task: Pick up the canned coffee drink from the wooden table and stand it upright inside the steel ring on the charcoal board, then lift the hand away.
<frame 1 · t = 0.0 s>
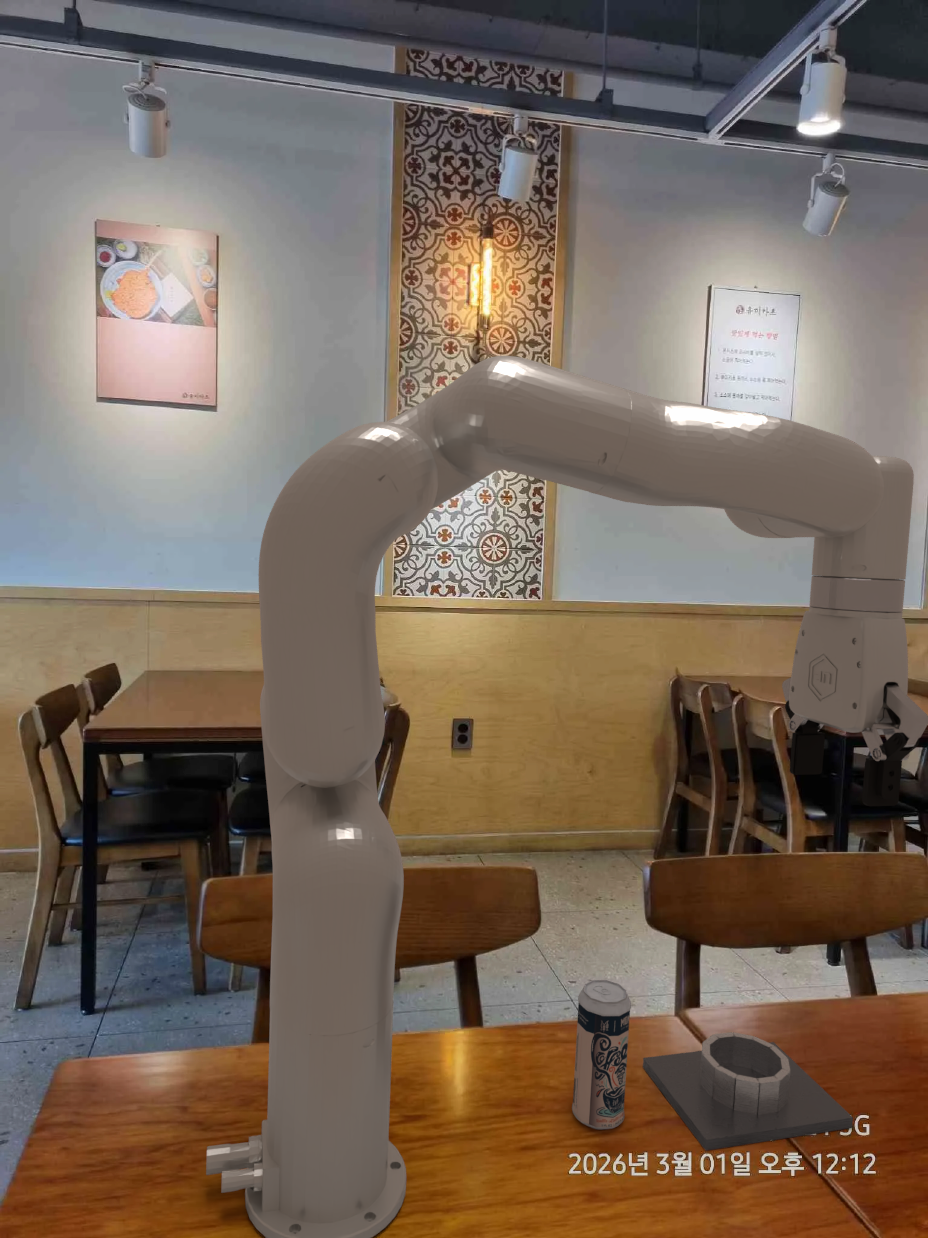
hand: (840, 788, 75), 31 cm above the table, tool pointing down, fingers open, 9 cm apart
canned coffee drink: (597, 1118, 77), on the table
can stand: (742, 1096, 81), on the table
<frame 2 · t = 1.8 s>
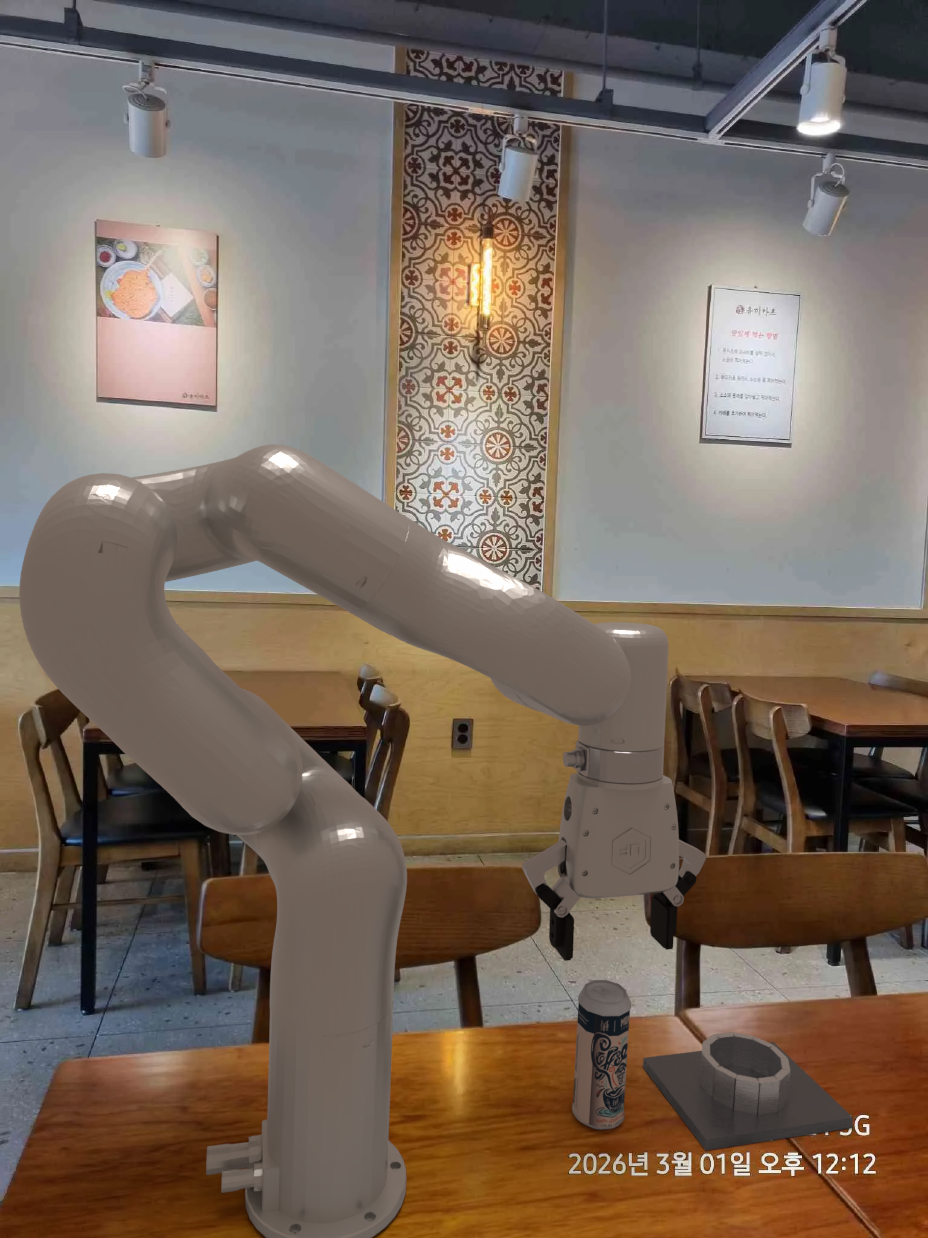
hand: (612, 948, 76), 16 cm above the table, tool pointing down, fingers open, 9 cm apart
nothing on the table moved.
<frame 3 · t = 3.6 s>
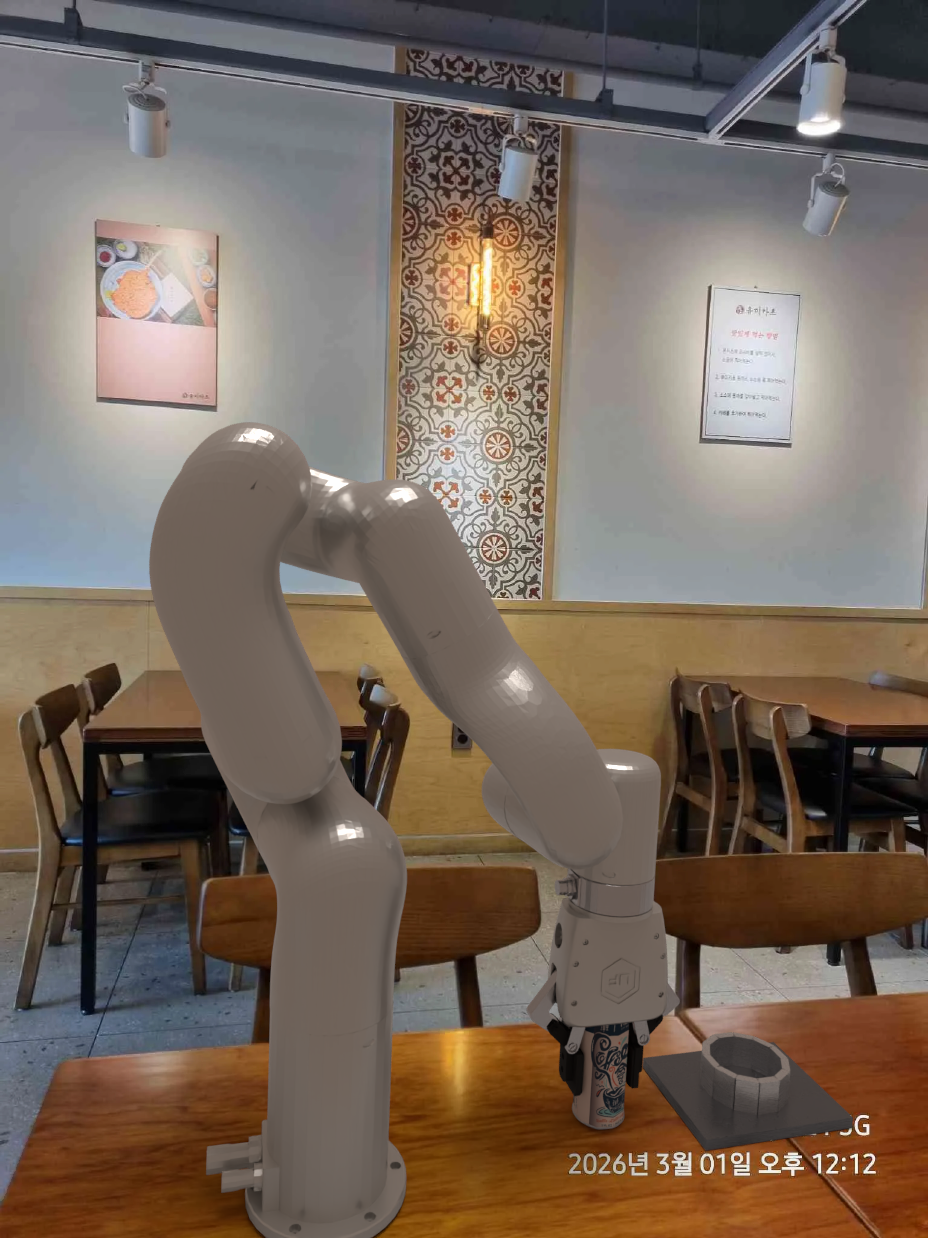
hand: (599, 1081, 76), 3 cm above the table, tool pointing down, fingers closed on canned coffee drink, 4 cm apart
canned coffee drink: (597, 1118, 77), on the table, touching gripper
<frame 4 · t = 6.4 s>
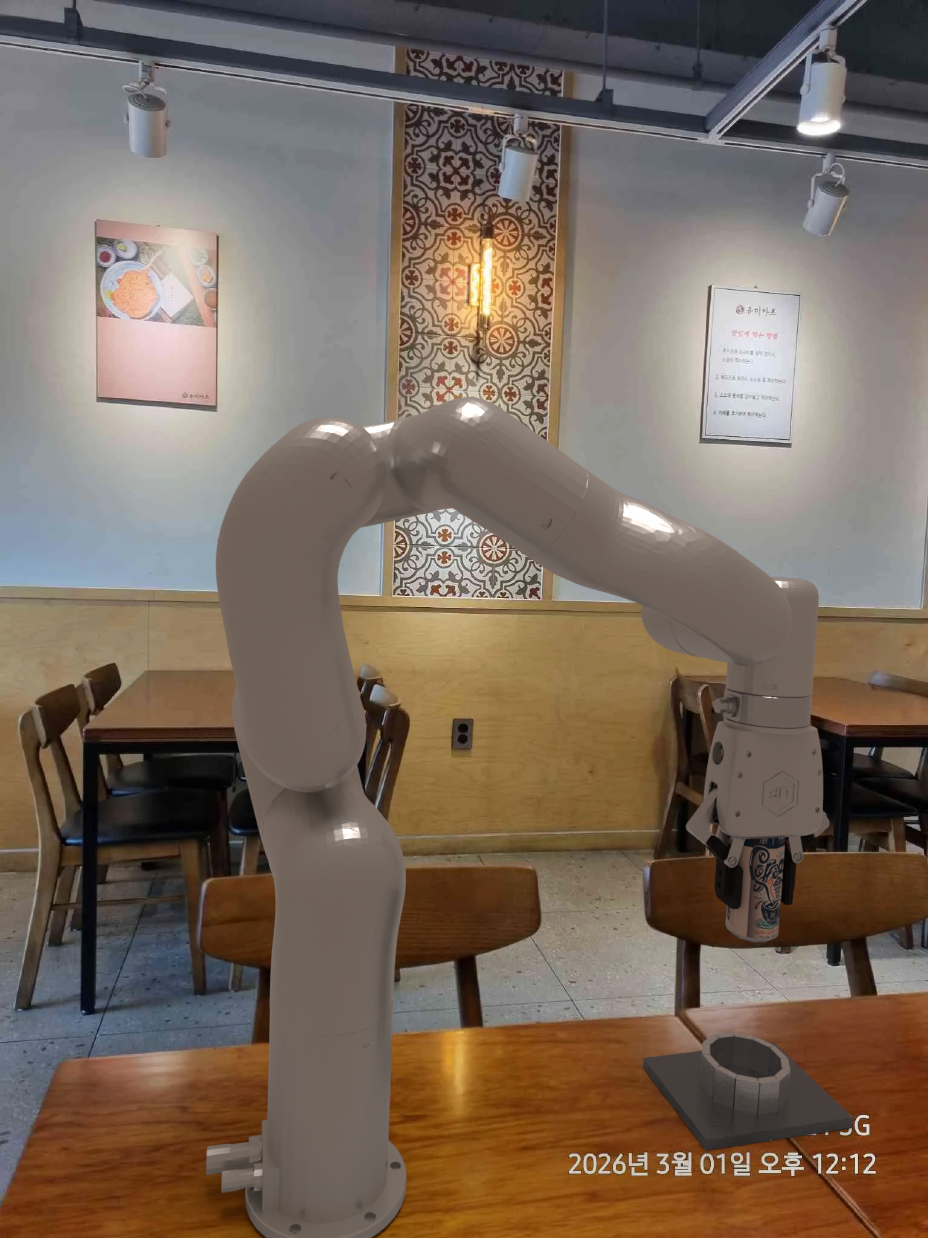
hand: (753, 899, 79), 20 cm above the table, tool pointing down, fingers closed on canned coffee drink, 4 cm apart
canned coffee drink: (751, 935, 79), point 16 cm above the table, touching gripper
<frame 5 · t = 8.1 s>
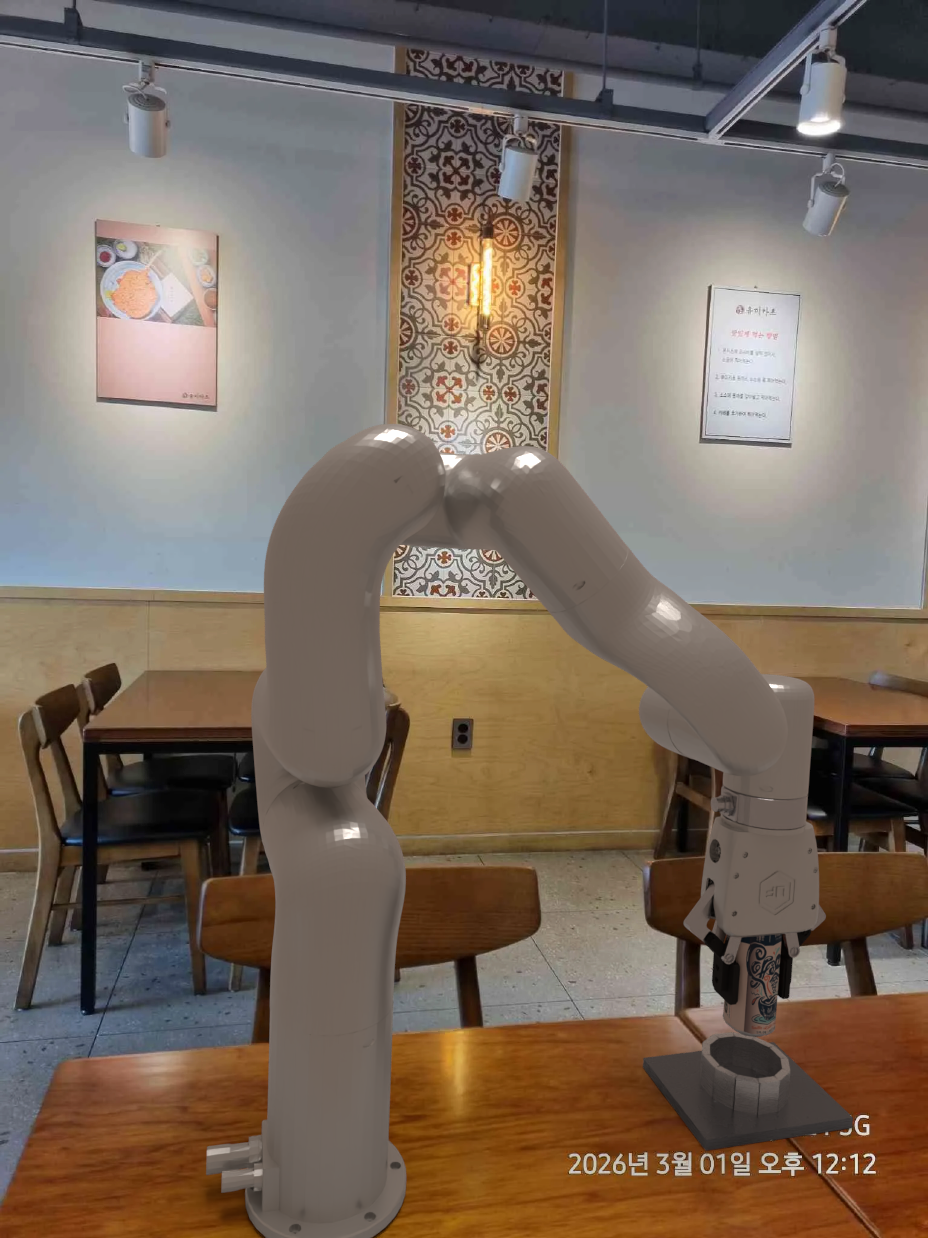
hand: (750, 992, 80), 10 cm above the table, tool pointing down, fingers closed on canned coffee drink, 4 cm apart
canned coffee drink: (748, 1028, 80), point 7 cm above the table, touching gripper
when the fingers open (6 cm above the table, at t = 9.4 s): canned coffee drink drops 1 cm, resting on can stand.
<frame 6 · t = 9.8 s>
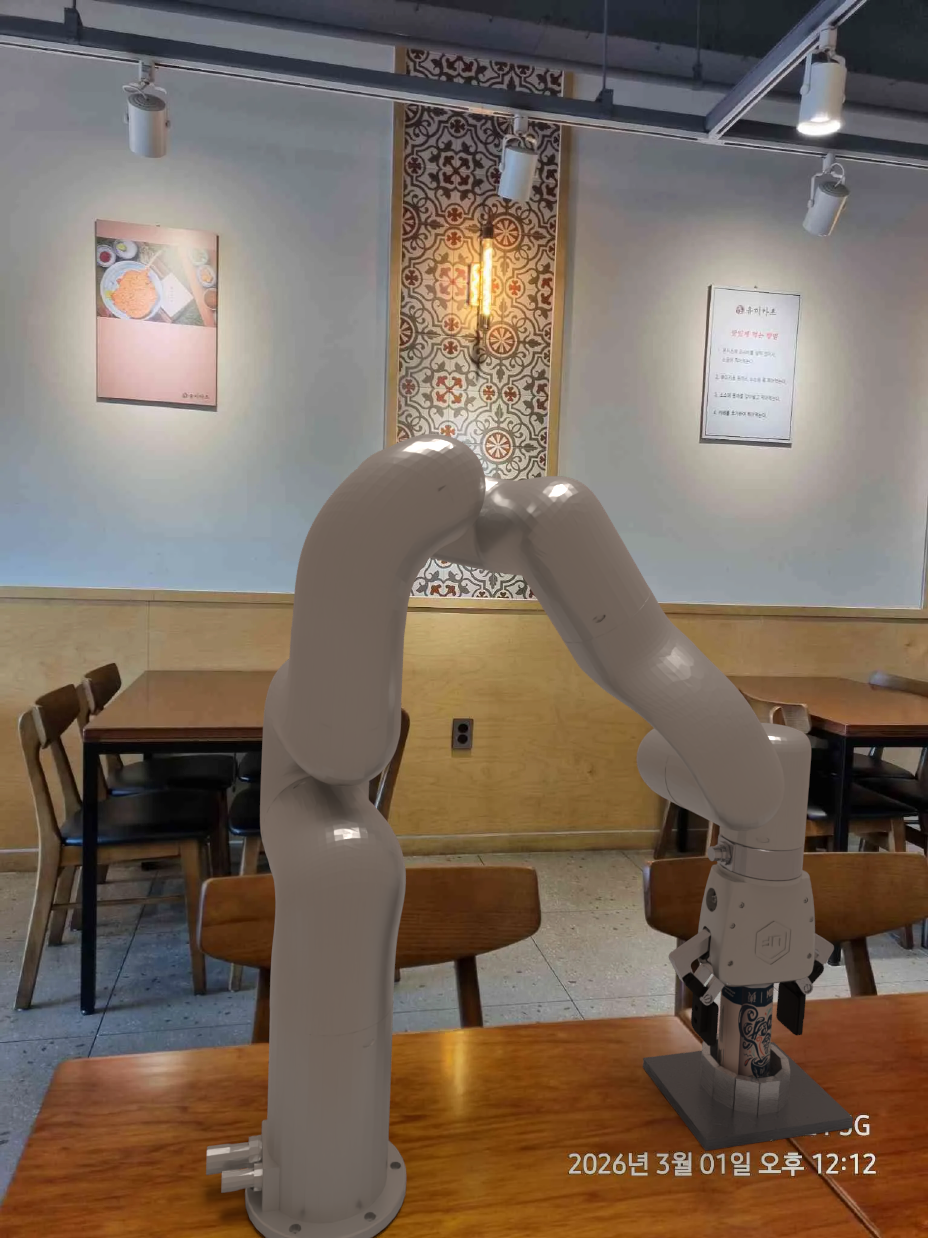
hand: (747, 1032, 80), 6 cm above the table, tool pointing down, fingers open, 8 cm apart
canned coffee drink: (741, 1088, 80), point 1 cm above the table, touching can stand
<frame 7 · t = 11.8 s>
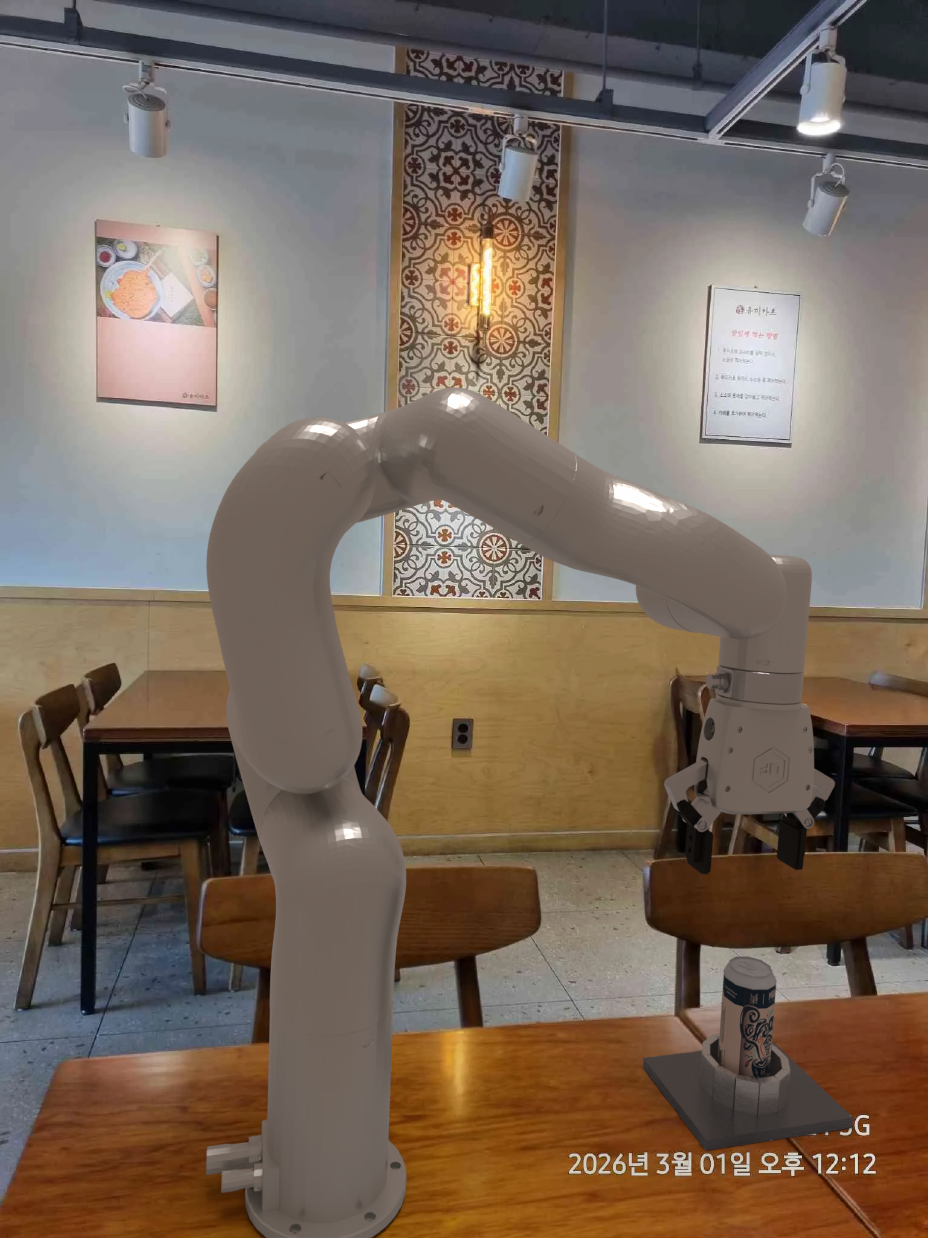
hand: (744, 866, 79), 22 cm above the table, tool pointing down, fingers open, 9 cm apart
nothing on the table moved.
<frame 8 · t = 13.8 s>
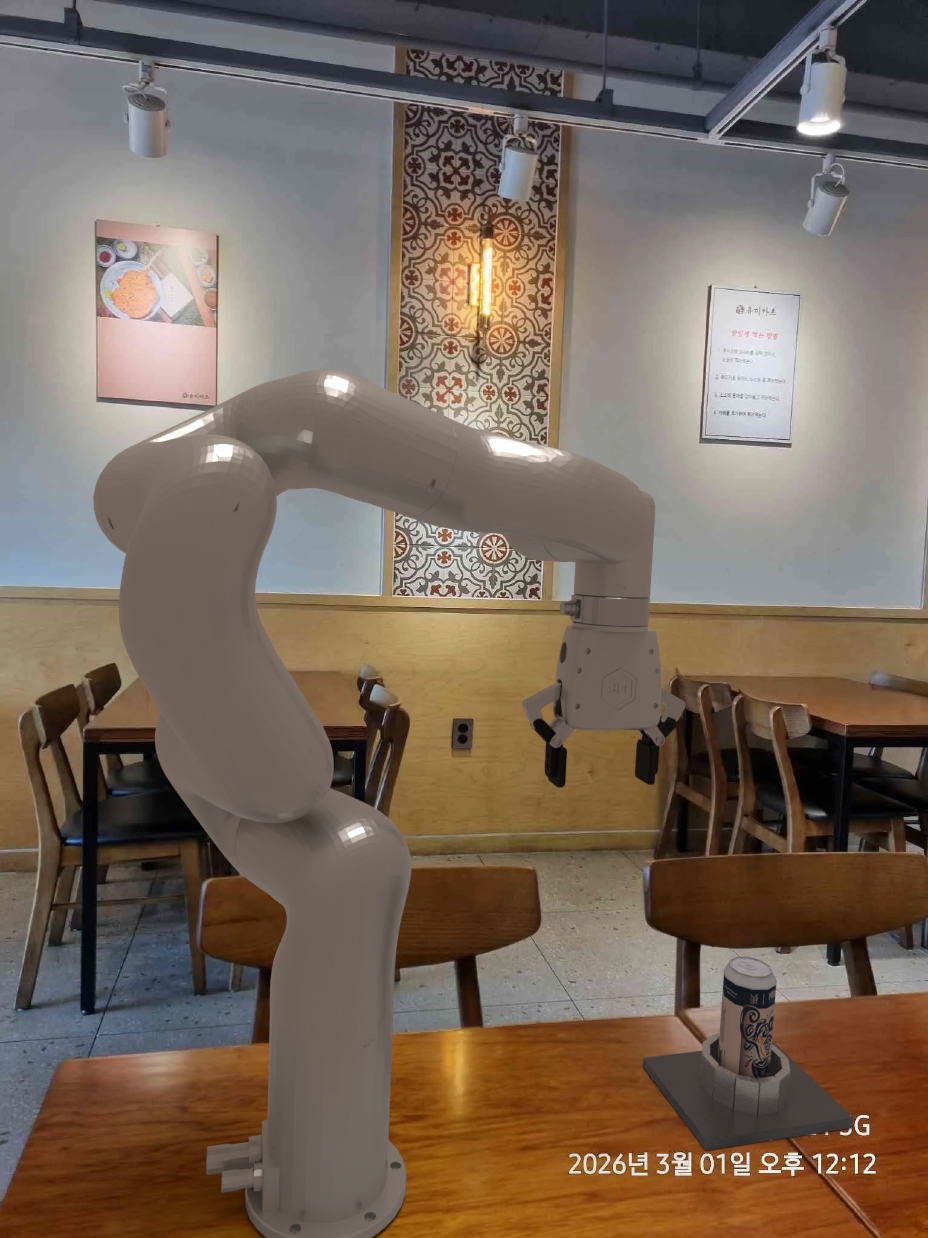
hand: (600, 782, 85), 28 cm above the table, tool pointing down, fingers open, 9 cm apart
nothing on the table moved.
at the end: canned coffee drink 0.1 cm off-centre on the can stand, point 0.8 cm above the can stand's base; canned coffee drink tilted 0°; the gripper is holding nothing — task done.
